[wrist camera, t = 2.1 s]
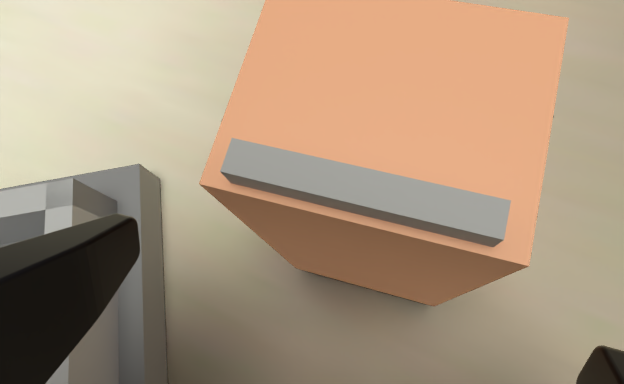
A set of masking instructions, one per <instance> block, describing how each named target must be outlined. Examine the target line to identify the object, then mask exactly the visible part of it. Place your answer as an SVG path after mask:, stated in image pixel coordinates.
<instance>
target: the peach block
mask: <svg viewBox="0 0 624 384" xmlns="http://www.w3.org/2000/svg"><path fill="white" fill-rule="evenodd" d="M568 20H569V18H566V17H559V16H553V15H546V14H539V13H532V12H525V11H519V10H512V9H505V8H498V7H491V6H485V5H478V4H471V3H464V2H458V1H451V0H266V1H265V4H264V6H263V9H262V12H261V15H260V17H259V20H258V23H257V26H256V28H255V31H254V34H253V37H252V39H251V42H250V45H249V48H248V50H247V53H246V56H245V59H244V61H243V64H242V67H241V70H240V72H239V75H238V78H237V81H236V83H235V86H234V89H233V92H232V94H231V97H230V100H229V103H228V105H227V108H226V111H225V114H224V116H223V119H222V122H221V125H220V127H219V130H218V133H217V136H216V139H215V141H214V144H213V147H212V150H211V152H210V155H209V158H208V161H207V163H206V166H205V169H204V172H203V174H202V177H201V180H200V183H199V184H200V185H201V186H202V187H203V188H204V189H205V190H207V191H208V192H209V193H210V194H211V195H212V196H214V197H215V198H216V199H217V200H218V201H219V202H220V203H222V204H223V205H224V206H225V207H226V208H227V209H228V210H230V211H231V212H232V213H233V214H234V215H235V216H237V217H238V218H239V219H240V220H241V221H242V222H243V223H245V224H246V225H247V226H248V227H249V228H250V229H252V230H253V231H254V232H255V233H256V234H257V235H258V236H260V237H261V238H262V239H263V240H264V241H265V242H266V243H268V244H269V245H270V246H271V247H272V248H273V249H275V250H276V251H277V252H278V253H279V254H280V255H281V256H283V257H284V258H285V259H286V260H287V261H288V262H289V263H291V264H292V265H293V266H294V267H295V268H297V269H300V270H304V271H308V272H311V273H315V274H318V275H322V276H326V277H329V278H333V279H337V280H340V281H344V282H347V283H351V284H355V285H358V286H362V287H366V288H369V289H373V290H376V291H380V292H384V293H387V294H391V295H395V296H398V297H402V298H405V299H409V300H413V301H416V302H420V303H423V304H427V305H431V306H436V305H438V304H441V303H443V302H446V301H448V300H450V299H453V298H455V297H457V296H460V295H462V294H464V293H467V292H469V291H472V290H474V289H476V288H479V287H481V286H483V285H486V284H488V283H490V282H493V281H495V280H498V279H500V278H502V277H505V276H507V275H509V274H512V273H514V272H516V271H519V270H521V269H524V268H526V267H528V266H529V263H530V257H531V251H532V245H533V239H534V232H535V226H536V220H537V214H538V207H539V201H540V195H541V189H542V182H543V176H544V170H545V164H546V157H547V151H548V145H549V139H550V133H551V126H552V120H553V114H554V108H555V101H556V95H557V89H558V83H559V76H560V70H561V64H562V58H563V51H564V45H565V39H566V33H567V26H568Z"/></svg>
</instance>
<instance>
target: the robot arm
mask: <svg viewBox="0 0 624 384" xmlns="http://www.w3.org/2000/svg"><path fill="white" fill-rule="evenodd" d="M139 254H140V241H139V231H138V223H137V221H136V219H135V218H133V217H131V216H127V215H123V214H119V213H116V214H112V215H108V216H105V217H102V218H98V219H95V220H91V221H88V222H85V223H81V224H78V225H75V226H71V227H68V228H64V229H61V230H58V231H54V232H51V233H47V234H44V235H41V236H37V237H34V238H30V239H27V240H24V241H20V242H17V243H13V244H10V245H7V246H3V247H0V384H46V383H47V381H48V380H49V379H50V378H51V376H52V375H53V374H54V373H55V372H56V370H57V369H58V368H59V367H60V365H61V364H62V363H63V362H64V360H65V359H66V358H67V357H68V356H69V354H70V353H71V352H72V351H73V349H74V348H75V347H76V346H77V345H78V343H79V342H80V341H81V340H82V338H83V337H84V336H85V335H86V334H87V332H88V331H89V330H90V329H91V327H92V326H93V325H94V323H95V322H96V321H97V320H98V318H99V317H100V316H101V314H102V313H103V311H104V310H105V308H106V307H107V305H108V304H109V302H110V301H111V299H112V298H113V296H114V295H115V293H116V292H117V290H118V289H119V287H120V286H121V284H122V283H123V281H124V280H125V278H126V276H127V275H128V273H129V272H130V270H131V269H132V267H133V266H134V264H135V263H136V261H137V259H138V257H139ZM576 384H624V351H621V350H618V349H614V348H610V347H607V346H598V347H596V348H595V349H594V350H593V352H592V354H591V355H590V357H589V359H588V360H587V362H586V364H585V365H584V367H583V369H582V370H581V372H580V374H579V375H578V378H577V382H576Z"/></svg>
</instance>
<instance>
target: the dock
mask: <svg viewBox="0 0 624 384" xmlns="http://www.w3.org/2000/svg"><path fill="white" fill-rule="evenodd" d="M116 213H119V214H123V215H127V216H131V217H133V218H135V219H136V221H137V223H138V231H139V241H140V254H139V257H138V259H137V261H136V263H135V264H134V266H133V267H132V269H131V270H130V272H129V273H128V275H127V276H126V278H125V280H124V281H123V283H122V284H121V286H120V287H119V289H118V290H117V292H116V293H115V295H114V296H113V298H112V299H111V301H110V302H109V304H108V305H107V307H106V308H105V310H104V311H103V313H102V314H101V316H100V317H99V318H98V320H97V321H96V322H95V323H94V325H93V326H92V327H91V329H90V330H89V331H88V332H87V334H86V335H85V336H84V337H83V338H82V340H81V341H80V342H79V343H78V345H77V346H76V347H75V348H74V349H73V351H72V352H71V353H70V354H69V356H68V357H67V358H66V359H65V360H64V362H63V363H62V364H61V365H60V367H59V368H58V369H57V370H56V372H55V373H54V374H53V375H52V376H51V378H50V379H49V380H48V381H47V383H46V384H168V377H167V351H166V325H165V299H164V273H163V248H162V222H161V196H160V179H159V178H158V177H157V176H155V175H154V174H152V173H151V172H150V171H148V170H147V169H146V168H144V167H143V166H142V165H140V164H136V165H131V166H125V167H119V168H114V169H108V170H103V171H97V172H92V173H86V174H81V175H75V176H70V177H64V178H59V179H53V180H48V181H42V182H36V183H31V184H25V185H20V186H14V187H9V188H3V189H0V247H3V246H7V245H10V244H13V243H17V242H20V241H24V240H27V239H30V238H34V237H37V236H41V235H44V234H47V233H51V232H54V231H58V230H61V229H64V228H68V227H71V226H75V225H78V224H81V223H85V222H88V221H91V220H95V219H98V218H102V217H105V216H108V215H112V214H116Z"/></svg>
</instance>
